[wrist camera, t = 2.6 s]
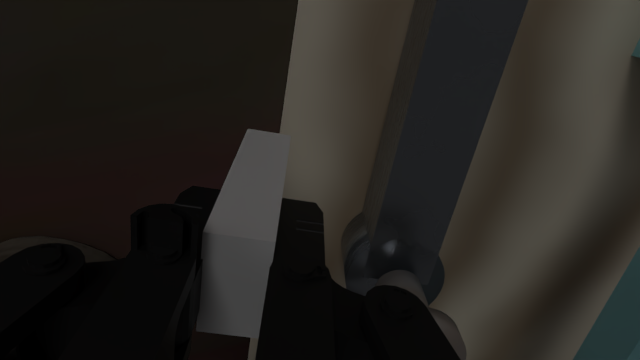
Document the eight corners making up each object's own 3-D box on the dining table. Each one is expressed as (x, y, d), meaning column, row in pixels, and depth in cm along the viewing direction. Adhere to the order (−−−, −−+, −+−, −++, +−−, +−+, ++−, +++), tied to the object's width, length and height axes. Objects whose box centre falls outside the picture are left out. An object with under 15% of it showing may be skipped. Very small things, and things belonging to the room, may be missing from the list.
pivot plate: (249, 349, 27) (223, 515, 19) (314, -111, 17) (323, -201, 8) (540, 379, 29) (635, 541, 21) (762, -15, 19) (1133, -9, 10)
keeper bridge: (452, 399, 30) (503, 545, 22) (635, -8, 19) (863, 2, 11) (486, 402, 30) (547, 548, 22) (686, 2, 19) (944, 20, 11)
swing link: (414, 282, 23) (428, 323, 20) (333, 272, 22) (337, 313, 20) (514, -16, 17) (555, -15, 14) (405, -38, 16) (425, -41, 13)
